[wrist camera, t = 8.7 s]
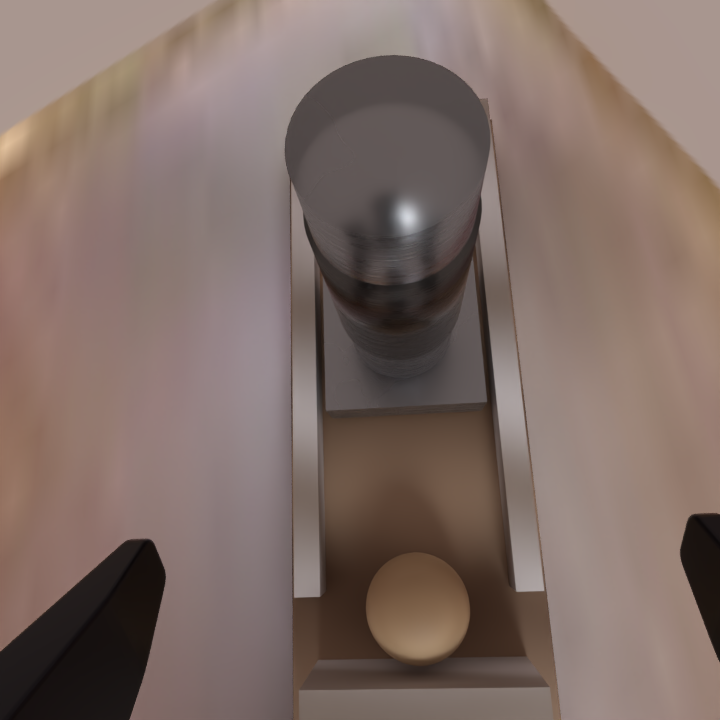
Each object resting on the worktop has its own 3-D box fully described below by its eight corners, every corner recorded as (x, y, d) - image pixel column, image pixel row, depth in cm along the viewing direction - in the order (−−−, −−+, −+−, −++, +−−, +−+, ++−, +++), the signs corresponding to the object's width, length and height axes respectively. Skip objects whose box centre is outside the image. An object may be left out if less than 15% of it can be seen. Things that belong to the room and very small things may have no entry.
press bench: (558, 786, 17) (607, 879, 13) (303, 785, 18) (267, 874, 14) (486, 143, 23) (503, 60, 19) (297, 160, 24) (271, 84, 19)
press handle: (481, 410, 19) (572, 277, 8) (332, 418, 19) (225, 302, 8) (468, 272, 20) (530, -6, 9) (329, 282, 20) (232, 28, 10)
